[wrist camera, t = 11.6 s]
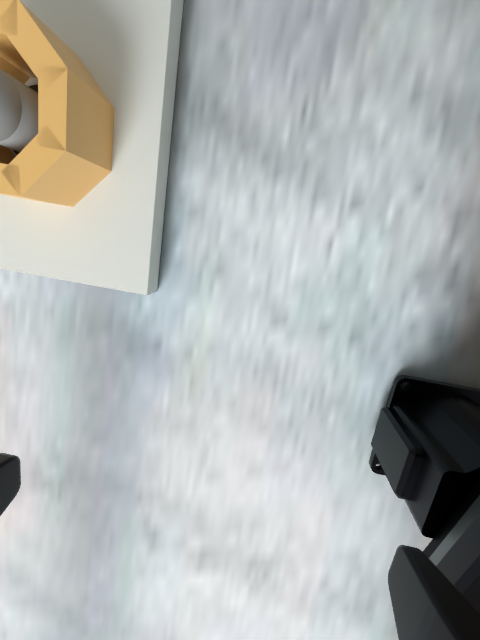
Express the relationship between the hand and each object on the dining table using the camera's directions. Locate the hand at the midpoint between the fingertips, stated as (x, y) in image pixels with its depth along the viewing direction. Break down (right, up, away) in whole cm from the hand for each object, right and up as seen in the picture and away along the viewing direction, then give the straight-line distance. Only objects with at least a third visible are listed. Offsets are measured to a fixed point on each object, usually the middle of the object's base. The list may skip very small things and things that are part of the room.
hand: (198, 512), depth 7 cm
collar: (-9, +14, +9) cm, 19 cm away
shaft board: (-9, +14, +10) cm, 20 cm away
